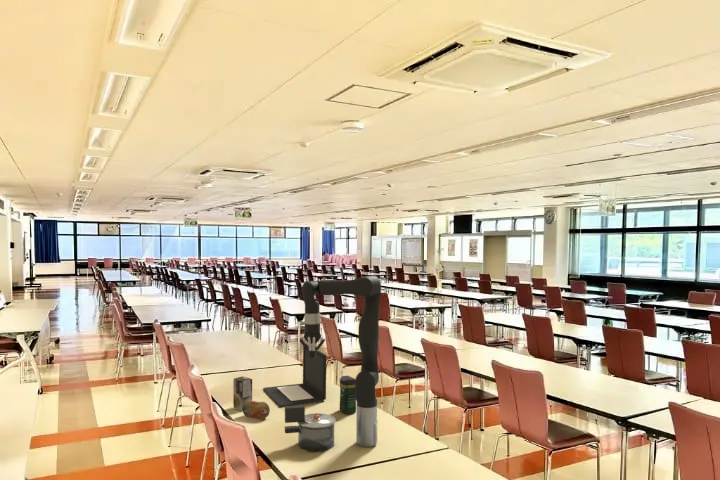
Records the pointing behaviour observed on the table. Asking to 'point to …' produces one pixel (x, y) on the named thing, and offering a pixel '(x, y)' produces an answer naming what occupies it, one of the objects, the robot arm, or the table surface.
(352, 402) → the coffee jar
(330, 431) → the cooking pot
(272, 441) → the table surface
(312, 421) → the lid
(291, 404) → the laptop
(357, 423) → the robot arm
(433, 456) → the table surface
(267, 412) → the tin
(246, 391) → the coffee box
